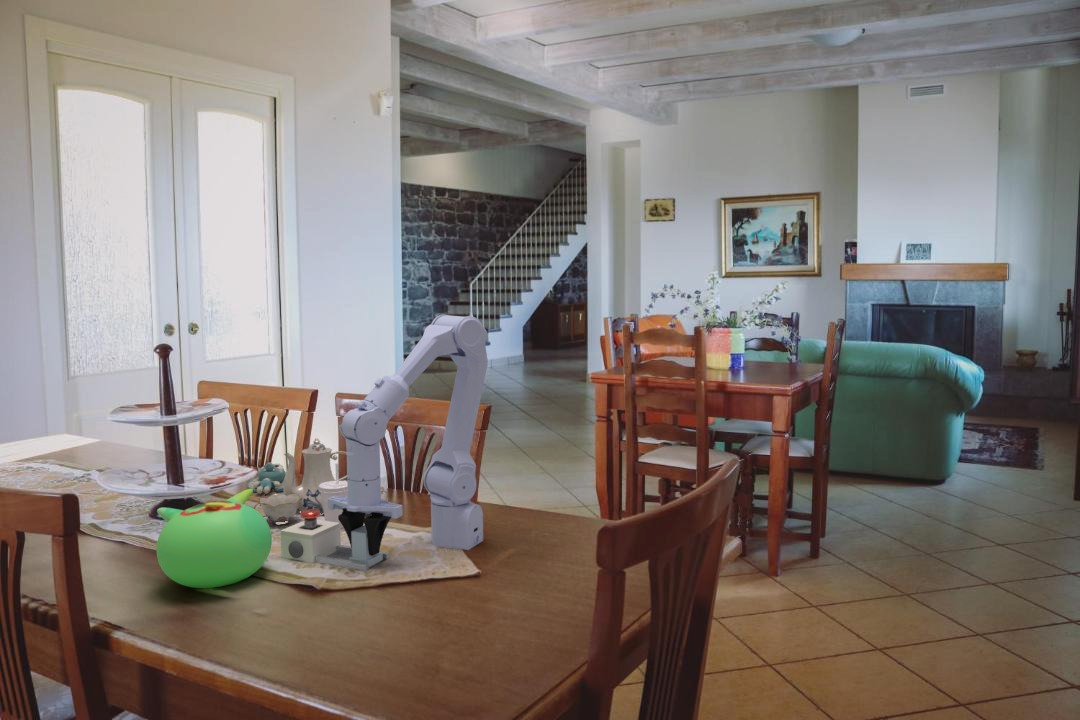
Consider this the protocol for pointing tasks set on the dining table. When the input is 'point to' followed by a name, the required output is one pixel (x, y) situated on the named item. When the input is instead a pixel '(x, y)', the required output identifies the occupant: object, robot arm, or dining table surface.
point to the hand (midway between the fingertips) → (365, 552)
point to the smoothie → (330, 491)
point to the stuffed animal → (268, 479)
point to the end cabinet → (310, 541)
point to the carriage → (362, 548)
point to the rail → (343, 562)
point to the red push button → (310, 518)
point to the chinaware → (303, 485)
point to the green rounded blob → (213, 542)
